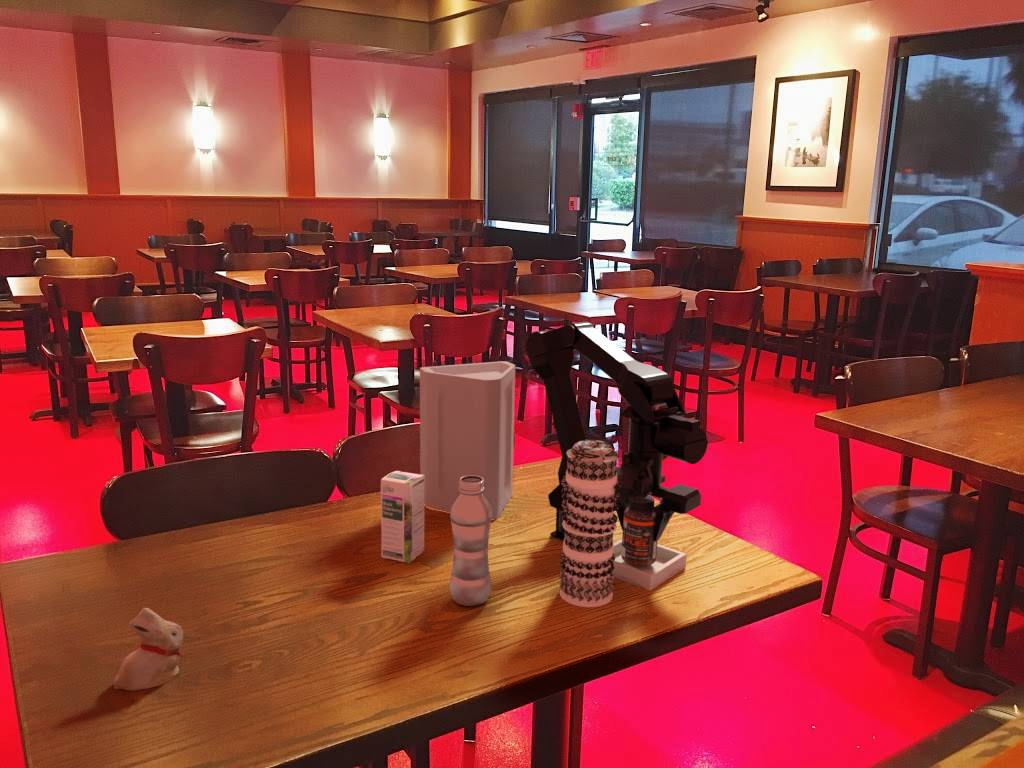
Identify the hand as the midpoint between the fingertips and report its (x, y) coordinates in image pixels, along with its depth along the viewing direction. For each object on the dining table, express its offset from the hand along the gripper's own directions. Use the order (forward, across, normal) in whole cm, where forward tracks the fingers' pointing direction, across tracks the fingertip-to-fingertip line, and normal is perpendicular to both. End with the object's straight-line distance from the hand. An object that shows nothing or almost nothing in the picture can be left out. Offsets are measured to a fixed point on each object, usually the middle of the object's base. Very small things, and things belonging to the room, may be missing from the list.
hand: (640, 535), depth 139 cm
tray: (+6, 0, 0) cm, 6 cm away
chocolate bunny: (+6, -29, -71) cm, 77 cm away
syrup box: (+6, -33, -24) cm, 41 cm away
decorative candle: (+6, -1, -14) cm, 15 cm away
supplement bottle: (+5, 0, 0) cm, 5 cm away
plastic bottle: (+6, -13, -28) cm, 31 cm away
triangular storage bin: (+6, -39, +1) cm, 39 cm away
